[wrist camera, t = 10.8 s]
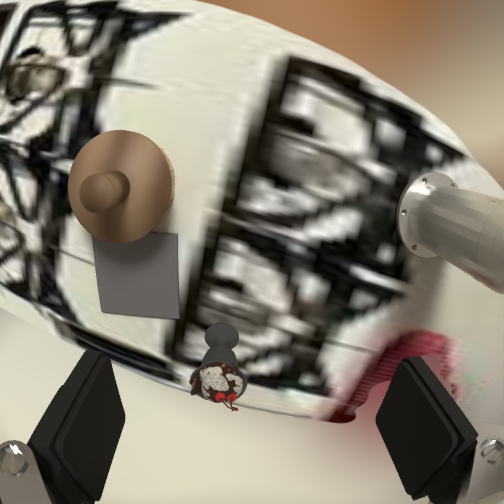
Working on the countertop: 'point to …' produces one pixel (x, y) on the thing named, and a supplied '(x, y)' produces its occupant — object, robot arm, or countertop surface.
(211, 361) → the sundae
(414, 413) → the robot arm
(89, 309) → the countertop surface
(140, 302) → the mat
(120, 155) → the lid
